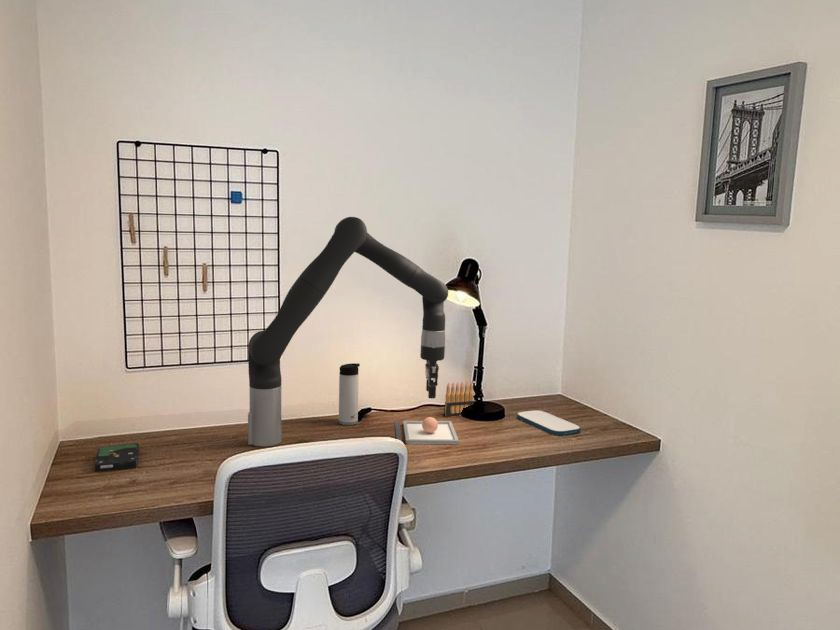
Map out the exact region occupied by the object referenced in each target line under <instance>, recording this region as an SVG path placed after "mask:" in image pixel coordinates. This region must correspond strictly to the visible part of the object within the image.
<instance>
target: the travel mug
mask: <svg viewBox="0 0 840 630" xmlns="http://www.w3.org/2000/svg"><path fill="white" fill-rule="evenodd" d="M360 366H361V364H360V363H355V362H354V363H345V364H341V365H340V367H339V374H338V375H339V379H338V381H339V382H338V424H340V425H341V424H342V425H343V426H355V425H358V422H359V419H358V417H359V414H358V413H359V378H360V377H359V367H360ZM354 424H355V425H354Z"/></svg>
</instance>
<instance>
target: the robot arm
mask: <svg viewBox="0 0 840 630" xmlns="http://www.w3.org/2000/svg"><path fill="white" fill-rule="evenodd" d="M354 253H356V254H358V255H360V256H362V257H364V259H365V258H366V259H367V260H369V261H371V262H372V263H373V264H375V265H376V266H378V267H379V268H381V269H382V270H384V271H385V272H386V273H387V274H389V275H391V276H392V277H393V278H395V279H396V280H398V281H399V282H401V283H402V284H404V285H405V286H407V287H409V288H410V289H413V291H415V292H417V293H418V294H419V295H420V296H422V298H421V301H422V312H423V313H422V315H423V316H422V326H421V327H422V330H421V335H420V358H421V359H422V360H423V361H426V363H425V364H424V365H425V367H424V368H425V373H424V375H425V378H426V387H425V391H426V392H428V395H427V396H428V397H427V398H428V399H436V396H437V395H436V394H437V386H438V385H439V383H438V379H439V364H438V361H439V362H441V361H444V359H445V354H446V353H445V351H446V314H445V311H444V307H445V306H444V303H445V301H447V299H448V296H449V289H448V287H447V285H446V284H445V283H444V282H443V281H441V280H440V279H438V278H436V277H435V276H433V275H432V274H430V273H428V272H426V271H425V270H424V269H423V268H421V267H420V266H419V265H417V264H416V263H414V262H413V261H412V260H410V259H409V258H407V257H406V256H404V255H403V254H401V253H399V252H397V251H396V250H394V249H392V248H390V247H388V246H386V245H384V244H383V243H381V242H380V241H378V240H377V239H376V238H374V237H373V236H372V235H371V234H370V233H369V232H368V229H367V226H366V223H365V221H363V219H361V218H359V217H356V216H348V217H345V218H343V219H341V220H340V221H339V222H337V224H336V226H335V228H334V232H333V233H332V236H330V239H329V240H328V242H327V244H326V245H325V247H324V248H323V249H322V251H321V252H320V253H319V254H318V255H317V256H316V257H315V258H314V259H313V260H312V261H311V262H310V263H309V264H308V265H307V266H306V268H305V269H304V270H303V271H302V272H301V274H300V275H299V276H298V277H297V279H296V280H295V281H294V283H293V284H291V285H292V286H291V287H290V289H289V290H288V292H287V293H286V296H285V298H284V300H283V302H282V304H281V307H280V309H279V311H278V312H277V314H276V316H275V317H274V319H272V321H271V322H270V324H269V325H268V326H267V327H266V328H265V329H264V330H259V331H258V332H255V333H253V335H252V336H251V337H250V339H249V340H248V341H249V342H248V348H247V349H248V353H247V354H248V357H247V358H248V360H247V361H248V362H247V363H248V365H247V366H248V380H249V384H248V386H249V411H248V413H247V445H248V446H249V445H250V446H255V447H272V446H276V445H279V444H281V442H282V372H281V358H282V356H283V354H284V352H285V351H286V349H287V347H288V346H289V344H290V342H291V340H292V339H293V337H294V335H296V333H297V331H298V329H299V328H300V327H301V326H302V325H303V323H304V322H305V321H306V320H307V319H308V317H310V315H311V314H312V313H313V311H314V310H315V309H316V307H318V305H319V303H320V302H321V301H322V300H323V298H324V296H325V295H327V292H328V290H329V289H330V288H331V286H333V283H334V281H335V280H336V278H337V277H338V275H339V273H340V270H341V269H343V266H344V265H345V263H346V262H347V261H348V260H349V259H350V258H351V256H352V255H353V254H354Z"/></svg>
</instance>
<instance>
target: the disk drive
mask: <svg viewBox="0 0 840 630" xmlns="http://www.w3.org/2000/svg"><path fill="white" fill-rule="evenodd" d="M139 453H140V449H139V443H138V442H135V443H125V444H123V443H122V444H117V445H107V446H103V445H101V446H100V447H99V448H98V449H97V454H96V457H95V461H94V465H93V466H94V473H103V472H104V473H105V472H112V471H123V470H124V471H125V470H130V469H131V470H132V469H135V470H136V469H138V460H139Z"/></svg>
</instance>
